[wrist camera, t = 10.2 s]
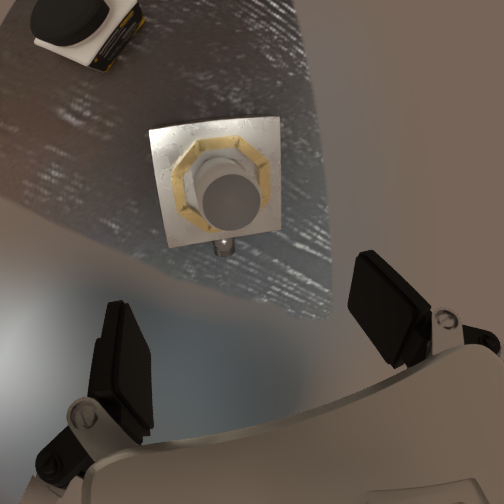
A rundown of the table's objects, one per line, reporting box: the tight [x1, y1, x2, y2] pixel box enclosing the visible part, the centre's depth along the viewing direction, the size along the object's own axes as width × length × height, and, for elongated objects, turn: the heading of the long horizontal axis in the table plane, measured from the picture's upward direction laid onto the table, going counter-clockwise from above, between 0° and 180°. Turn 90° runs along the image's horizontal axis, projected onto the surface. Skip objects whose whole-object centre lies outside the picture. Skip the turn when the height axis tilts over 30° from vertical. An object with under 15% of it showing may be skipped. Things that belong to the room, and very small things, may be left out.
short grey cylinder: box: [194, 157, 262, 231], centre depth 24 cm, size 5×5×6 cm
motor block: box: [149, 114, 281, 257], centre depth 28 cm, size 15×12×6 cm
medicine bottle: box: [30, 0, 145, 73], centre depth 14 cm, size 7×7×12 cm
